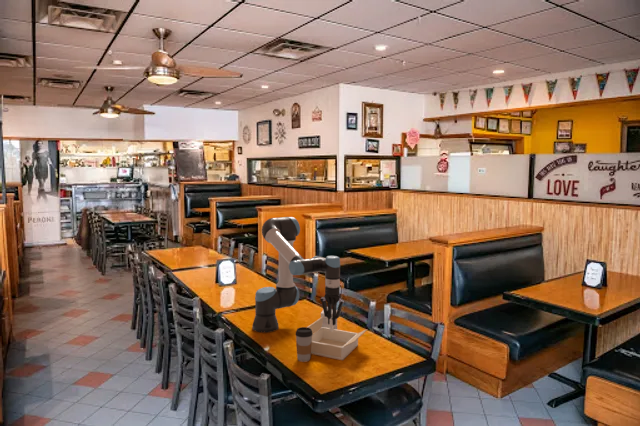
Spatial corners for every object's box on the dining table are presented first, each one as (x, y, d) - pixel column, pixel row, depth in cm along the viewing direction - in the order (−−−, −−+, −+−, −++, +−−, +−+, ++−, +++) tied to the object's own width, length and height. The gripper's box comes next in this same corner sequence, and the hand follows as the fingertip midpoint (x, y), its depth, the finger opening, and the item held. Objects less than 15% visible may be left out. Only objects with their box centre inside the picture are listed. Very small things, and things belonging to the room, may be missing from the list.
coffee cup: (295, 355, 228) (295, 326, 226) (311, 355, 228) (312, 326, 227) (295, 363, 219) (295, 333, 218) (312, 362, 220) (313, 332, 218)
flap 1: (323, 316, 248) (322, 316, 249) (307, 327, 231) (306, 327, 231) (321, 327, 249) (321, 327, 250) (305, 339, 232) (304, 338, 232)
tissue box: (334, 334, 258) (335, 311, 256) (320, 333, 259) (320, 310, 258) (337, 329, 266) (337, 306, 265) (323, 327, 268) (323, 305, 266)
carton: (303, 352, 232) (303, 340, 231) (322, 338, 251) (322, 326, 251) (342, 360, 222) (342, 348, 222) (358, 345, 242) (358, 333, 242)
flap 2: (353, 341, 220) (354, 342, 220) (367, 328, 238) (367, 329, 238) (343, 346, 223) (344, 347, 223) (357, 333, 240) (358, 334, 240)
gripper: (317, 286, 233) (317, 330, 235) (341, 289, 227) (340, 335, 230) (324, 283, 240) (323, 326, 242) (346, 286, 234) (346, 330, 237)
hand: (331, 330), depth 236 cm, fingers closed
